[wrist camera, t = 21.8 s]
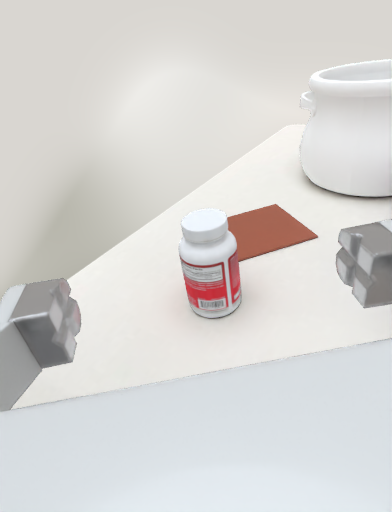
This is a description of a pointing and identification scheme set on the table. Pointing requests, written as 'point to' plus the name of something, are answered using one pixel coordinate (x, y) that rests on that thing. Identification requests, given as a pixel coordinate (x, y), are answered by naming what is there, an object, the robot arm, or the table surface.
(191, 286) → the pill bottle
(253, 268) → the table surface
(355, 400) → the robot arm
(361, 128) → the pot
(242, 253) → the napkin
